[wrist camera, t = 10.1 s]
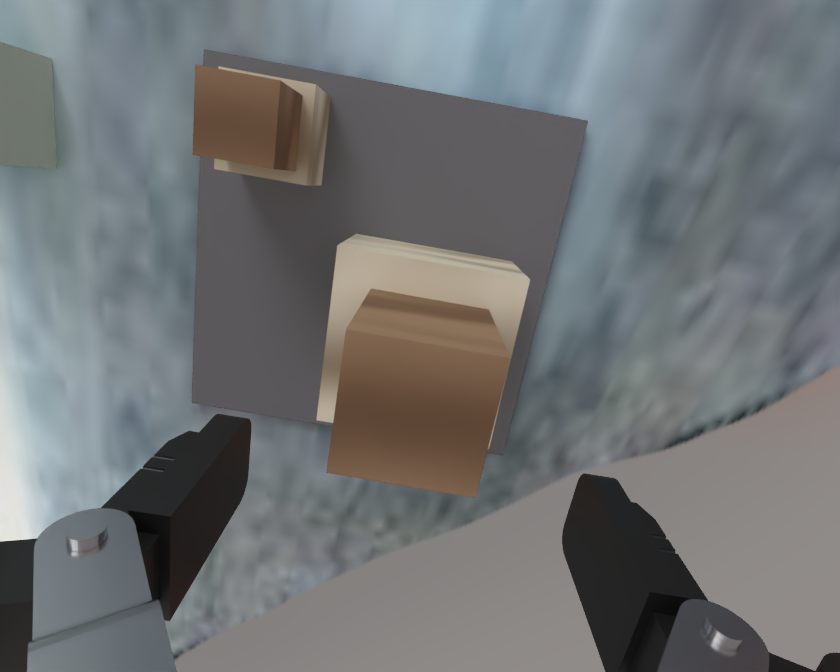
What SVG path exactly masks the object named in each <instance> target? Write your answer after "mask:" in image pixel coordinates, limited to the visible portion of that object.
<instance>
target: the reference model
mask: <svg viewBox="0 0 840 672" xmlns="http://www.w3.org/2000/svg"><path fill="white" fill-rule="evenodd" d="M330 102H331V97H330V96H329V95H328V94H327V93H326V92H324V91H323V90H322V89H321V88H320V87H319V86H317V85H316V84H311V83H306V82H301V81H295V80H290V79H285V78H279V77H274V76H268V75H263V74H258V73H252V72H247V71H241V70H236V69H231V68H225V67H220V66H218V69H217V68H211V67H206V66H200V65H196V67H195V100H194V133H193V155H198V156H203V157H209V158H214V169H217V170H223V171H228V172H234V173H239V174H245V175H251V176H256V177H262V178H267V179H273V180H278V181H284V182H289V183H295V184H300V185H306V186H322V177H323V167H324V158H325V149H326V139H327V130H328V121H329V111H330Z"/></svg>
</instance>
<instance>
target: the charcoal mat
mask: <svg viewBox="0 0 840 672" xmlns="http://www.w3.org/2000/svg"><path fill="white" fill-rule="evenodd" d="M203 66H206V67H211V68H217V69H218V66H220V67H225V68H231V69H236V70H241V71H247V72H252V73H258V74H263V75H268V76H274V77H279V78H285V79H290V80H295V81H301V82H306V83H311V84H316V85H317V86H319V87H320V88H321V89H322V90H323V91H324V92H326V93H327V94H328V95H329V96H330V97H331V102H330V111H329V121H328V130H327V139H326V149H325V158H324V167H323V177H322V186H306V185H300V184H295V183H289V182H284V181H278V180H273V179H267V178H262V177H256V176H251V175H245V174H239V173H234V172H228V171H223V170H217V169H214V158H209V157H203V156H200V176H199V205H198V234H197V263H196V292H195V321H194V350H193V379H192V403H196V404H202V405H208V406H214V407H220V408H226V409H232V410H238V411H243V412H249V413H255V414H261V415H267V416H273V417H279V418H285V419H291V420H297V421H303V422H309V423H315V424H320V425H326V426H332V427H333V423H330V422H324V421H318V420H316V419H317V411H318V403H319V394H320V386H321V378H322V369H323V361H324V353H325V344H326V336H327V328H328V319H329V311H330V303H331V294H332V286H333V278H334V269H335V261H336V253H337V245H339V244H340V243H342V242H344V241H345V240H347V239H348V238H350V237H352V236H353V235H355V234H361V235H367V236H372V237H378V238H384V239H389V240H395V241H400V242H406V243H412V244H417V245H423V246H429V247H434V248H440V249H445V250H451V251H457V252H462V253H468V254H474V255H479V256H485V257H490V258H496V259H502V260H507V261H512V262H513V263H514V264H515V265H516V266H517V267H518V268H519V269H520V270H521V271H522V272H523V273H524V274H525V275H526V276H527V277H528V278H529V279H530V283H529V287H528V291H527V295H526V299H525V303H524V307H523V312H522V316H521V320H520V324H519V328H518V332H517V336H516V340H515V344H514V348H513V353H512V357H511V361H510V365H509V369H508V373H507V377H506V381H505V385H504V389H503V394H502V398H501V402H500V406H499V410H498V414H497V418H496V422H495V426H494V430H493V435H492V439H491V443H490V447H489V449H488V450H487V453H492V454H498V455H503V452H504V448H505V444H506V440H507V436H508V432H509V428H510V424H511V420H512V416H513V412H514V409H515V405H516V401H517V397H518V393H519V389H520V385H521V381H522V377H523V373H524V369H525V365H526V362H527V358H528V354H529V350H530V346H531V342H532V338H533V334H534V330H535V326H536V322H537V318H538V315H539V311H540V307H541V303H542V299H543V295H544V291H545V287H546V283H547V279H548V275H549V271H550V268H551V264H552V260H553V256H554V252H555V248H556V244H557V240H558V236H559V232H560V228H561V224H562V221H563V217H564V213H565V209H566V205H567V201H568V197H569V193H570V189H571V185H572V181H573V177H574V174H575V170H576V166H577V162H578V158H579V154H580V150H581V146H582V142H583V138H584V134H585V130H586V127H587V123H588V121H586V120H580V119H575V118H570V117H564V116H559V115H553V114H548V113H543V112H537V111H532V110H527V109H521V108H516V107H510V106H505V105H500V104H494V103H489V102H484V101H478V100H473V99H468V98H462V97H457V96H451V95H446V94H441V93H435V92H430V91H425V90H419V89H414V88H408V87H403V86H398V85H392V84H387V83H382V82H376V81H371V80H366V79H360V78H355V77H349V76H344V75H339V74H333V73H328V72H323V71H317V70H312V69H307V68H301V67H296V66H290V65H285V64H280V63H274V62H269V61H264V60H258V59H253V58H247V57H242V56H237V55H231V54H226V53H221V52H215V51H210V50H205V49H204V60H203Z"/></svg>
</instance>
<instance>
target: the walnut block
mask: <svg viewBox="0 0 840 672" xmlns="http://www.w3.org/2000/svg"><path fill="white" fill-rule="evenodd" d="M509 361H510V357H509V354H508V352H507V350H506V348H505V345H504V343H503V341H502V338H501V336H500V334H499V332H498V329H497V327H496V325H495V322H494V320H493V318H492V316H491V313H490V311H489V309H483V308H477V307H472V306H466V305H461V304H455V303H449V302H444V301H438V300H433V299H427V298H422V297H416V296H410V295H405V294H399V293H394V292H388V291H382V290H377V289H370V291H369V293H368V294H367V296H366V297H365V299H364V301H363V302H362V304H361V306H360V307H359V309H358V310H357V312H356V314H355V315H354V317H353V319H352V320H351V322H350V324H349V325H348V327H347V328H346V333H345V340H344V347H343V355H342V362H341V369H340V377H339V384H338V391H337V399H336V406H335V413H334V421H333V428H332V435H331V443H330V450H329V457H328V465H327V472H326V473H331V474H337V475H343V476H349V477H355V478H361V479H367V480H373V481H379V482H384V483H390V484H396V485H402V486H408V487H414V488H420V489H426V490H432V491H438V492H444V493H449V494H455V495H461V496H467V497H473V498H476V494H477V490H478V486H479V482H480V478H481V474H482V470H483V466H484V462H485V458H486V454H487V450H488V446H489V442H490V438H491V434H492V430H493V426H494V422H495V418H496V414H497V410H498V406H499V401H500V397H501V393H502V389H503V385H504V381H505V377H506V373H507V369H508V365H509Z"/></svg>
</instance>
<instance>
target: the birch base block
mask: <svg viewBox="0 0 840 672" xmlns="http://www.w3.org/2000/svg"><path fill="white" fill-rule="evenodd" d="M529 283H530V279H529V278H528V277H527V276H526V275H525V274H524V273H523V272H522V271H521V270H520V269H519V268H518V267H517V266H516V265H515V264H514V263H513V262H512V261H507V260H502V259H496V258H490V257H485V256H479V255H474V254H468V253H462V252H457V251H451V250H445V249H440V248H434V247H429V246H423V245H417V244H412V243H406V242H400V241H395V240H389V239H384V238H378V237H372V236H367V235H361V234H355V235H353V236H352V237H350V238H348V239H347V240H345V241H344V242H342V243H340V244H339V245H337V253H336V261H335V269H334V278H333V286H332V294H331V303H330V311H329V319H328V328H327V336H326V344H325V353H324V361H323V369H322V378H321V386H320V394H319V403H318V411H317V419H316V420H318V421H324V422H330V423H333V421H334V413H335V406H336V399H337V391H338V384H339V377H340V369H341V362H342V355H343V347H344V340H345V333H346V328H347V327H348V325H349V324H350V322H351V320H352V319H353V317H354V315H355V314H356V312H357V310H358V309H359V307H360V306H361V304H362V302H363V301H364V299H365V297H366V296H367V294H368V293H369V291H370V289H377V290H382V291H388V292H394V293H399V294H405V295H410V296H416V297H422V298H427V299H433V300H438V301H444V302H449V303H455V304H461V305H466V306H472V307H477V308H483V309H489V311H490V313H491V316H492V318H493V320H494V322H495V325H496V327H497V329H498V332H499V334H500V336H501V338H502V341H503V343H504V345H505V348H506V350H507V352H508V354H509V357H510V361H511V357H512V353H513V348H514V344H515V340H516V336H517V332H518V328H519V324H520V320H521V316H522V312H523V307H524V303H525V299H526V295H527V291H528V287H529ZM510 361H509V365H510ZM509 365H508V369H509ZM508 369H507V373H508ZM507 373H506V377H507ZM506 377H505V381H506ZM505 381H504V385H505ZM504 385H503V389H504ZM503 389H502V393H501V397H500V401H499V406H500V402H501V398H502V394H503ZM499 406H498V410H499ZM498 410H497V414H498ZM497 414H496V418H497ZM496 418H495V422H496ZM495 422H494V426H495ZM494 426H493V430H494ZM493 430H492V434H491V438H490V442H489V446H488V449H489V447H490V443H491V439H492V435H493Z"/></svg>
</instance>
